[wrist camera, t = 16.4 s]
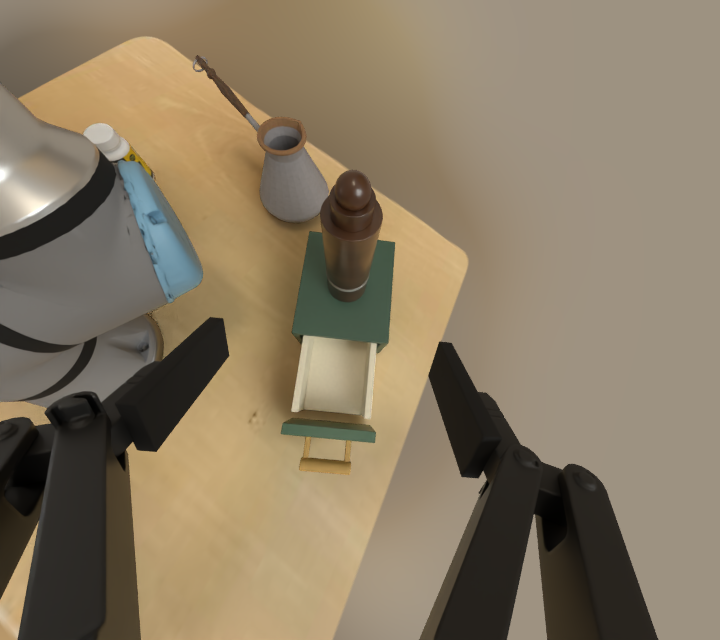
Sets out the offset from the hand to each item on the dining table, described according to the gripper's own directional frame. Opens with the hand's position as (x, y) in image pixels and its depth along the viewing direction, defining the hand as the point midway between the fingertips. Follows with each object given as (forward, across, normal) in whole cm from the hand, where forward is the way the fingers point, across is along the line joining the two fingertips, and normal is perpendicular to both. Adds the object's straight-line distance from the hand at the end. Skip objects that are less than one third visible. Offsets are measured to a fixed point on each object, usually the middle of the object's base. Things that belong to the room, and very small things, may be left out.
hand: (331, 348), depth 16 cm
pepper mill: (+19, 0, -3) cm, 19 cm away
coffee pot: (+40, -15, +6) cm, 43 cm away
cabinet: (+25, 0, -9) cm, 26 cm away
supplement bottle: (+38, -38, +4) cm, 54 cm away
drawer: (+14, 0, -18) cm, 23 cm away
